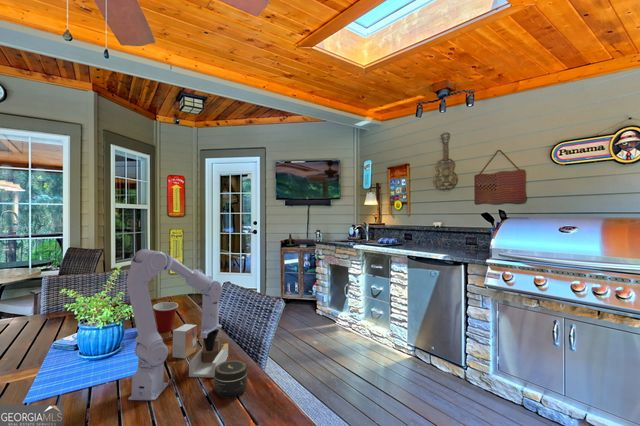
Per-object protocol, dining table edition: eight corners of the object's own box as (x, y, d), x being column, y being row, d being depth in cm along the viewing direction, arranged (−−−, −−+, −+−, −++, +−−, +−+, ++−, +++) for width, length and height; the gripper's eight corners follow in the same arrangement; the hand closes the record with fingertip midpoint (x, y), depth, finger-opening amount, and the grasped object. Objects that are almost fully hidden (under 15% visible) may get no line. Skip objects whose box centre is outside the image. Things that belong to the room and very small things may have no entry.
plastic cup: (155, 336, 147) (156, 309, 147) (149, 329, 156) (150, 304, 156) (180, 331, 154) (181, 305, 154) (174, 325, 163) (174, 300, 163)
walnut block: (217, 362, 121) (218, 341, 121) (202, 362, 121) (203, 340, 121) (221, 356, 126) (222, 336, 126) (207, 356, 126) (207, 335, 126)
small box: (185, 359, 126) (185, 331, 126) (171, 357, 127) (172, 330, 127) (196, 350, 134) (197, 324, 134) (184, 349, 135) (185, 323, 135)
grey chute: (215, 377, 112) (215, 362, 112) (188, 377, 112) (189, 361, 112) (227, 356, 128) (228, 343, 128) (204, 356, 128) (204, 343, 128)
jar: (230, 403, 98) (231, 377, 98) (206, 393, 102) (207, 369, 102) (253, 388, 106) (253, 364, 106) (230, 379, 111) (230, 357, 111)
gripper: (215, 319, 113) (214, 359, 113) (226, 307, 127) (226, 343, 127) (194, 319, 112) (193, 359, 112) (208, 307, 127) (207, 342, 127)
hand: (209, 350), depth 120 cm, fingers closed
